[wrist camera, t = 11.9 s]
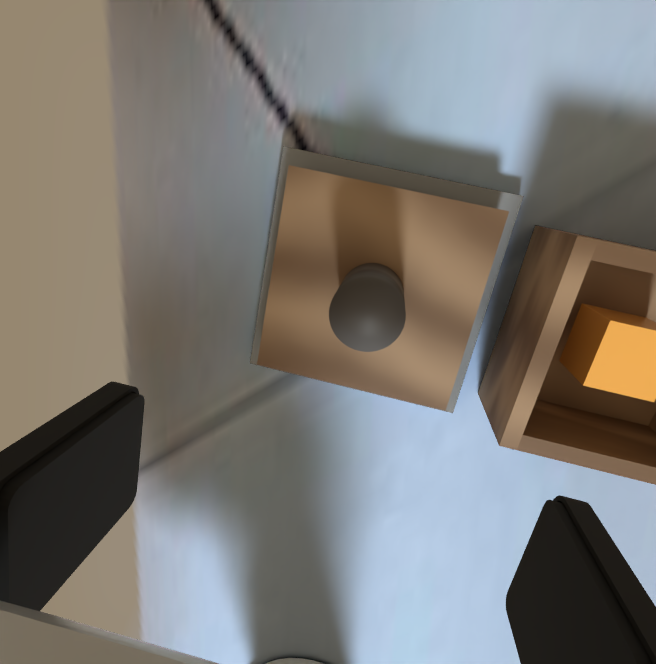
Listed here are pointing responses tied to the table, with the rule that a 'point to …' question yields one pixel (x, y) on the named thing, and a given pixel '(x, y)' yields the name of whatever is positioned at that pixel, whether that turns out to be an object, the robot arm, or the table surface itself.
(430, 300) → the lid
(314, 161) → the mat
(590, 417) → the storage box
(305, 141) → the table surface
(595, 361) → the block
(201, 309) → the table surface
